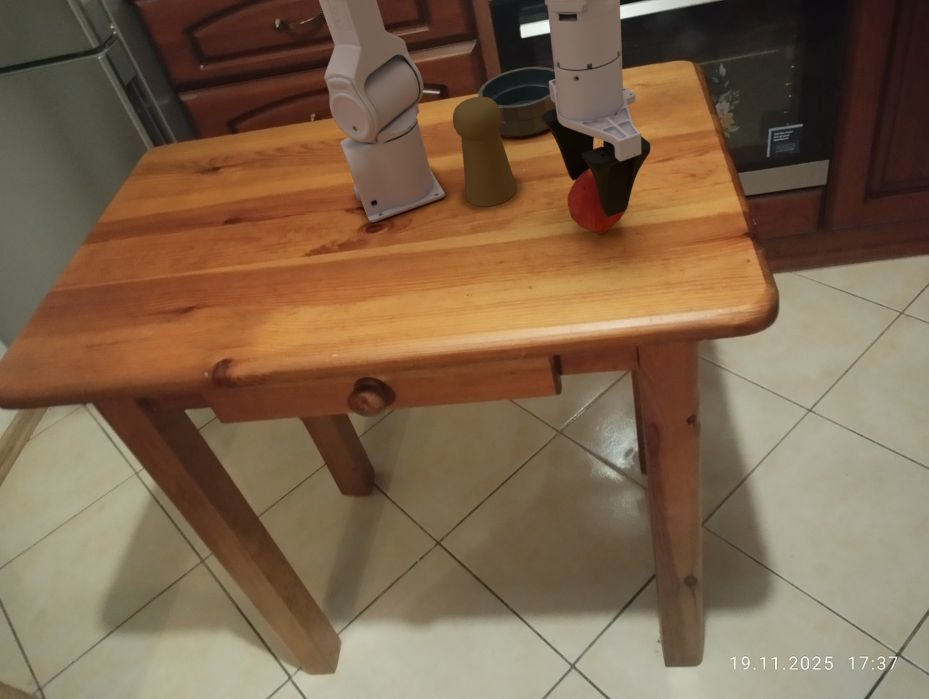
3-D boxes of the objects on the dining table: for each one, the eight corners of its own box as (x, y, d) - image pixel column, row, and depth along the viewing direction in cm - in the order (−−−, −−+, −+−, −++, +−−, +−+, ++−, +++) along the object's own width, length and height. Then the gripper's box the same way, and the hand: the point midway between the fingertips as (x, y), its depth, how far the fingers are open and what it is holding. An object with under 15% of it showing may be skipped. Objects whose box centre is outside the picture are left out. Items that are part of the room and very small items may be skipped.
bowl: (501, 149, 86) (495, 116, 82) (473, 116, 94) (466, 85, 90) (582, 121, 87) (579, 87, 83) (547, 90, 95) (543, 58, 91)
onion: (561, 228, 71) (553, 160, 66) (610, 208, 72) (606, 140, 67) (587, 256, 67) (581, 186, 62) (639, 235, 68) (637, 164, 62)
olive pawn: (457, 190, 81) (437, 103, 73) (502, 171, 82) (486, 83, 74) (479, 213, 76) (459, 122, 69) (526, 192, 77) (511, 101, 70)
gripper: (675, 68, 52) (673, 214, 62) (592, 17, 63) (601, 149, 72) (592, 97, 52) (602, 241, 61) (522, 41, 62) (540, 171, 71)
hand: (597, 193), depth 66 cm, fingers open, 7 cm apart
